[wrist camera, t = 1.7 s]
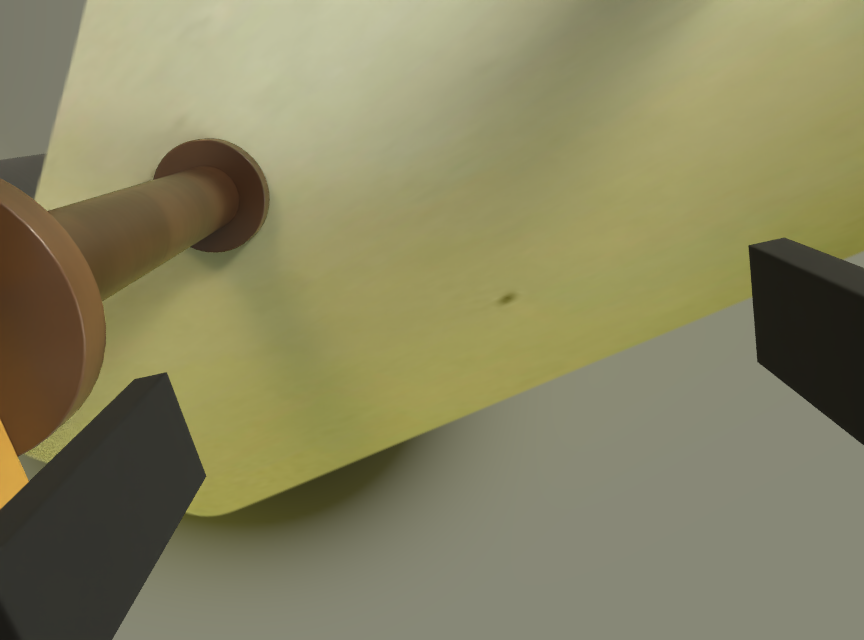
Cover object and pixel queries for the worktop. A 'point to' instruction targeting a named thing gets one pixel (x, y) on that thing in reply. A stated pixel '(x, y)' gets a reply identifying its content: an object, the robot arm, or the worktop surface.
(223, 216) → the dark brown spool
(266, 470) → the worktop surface
